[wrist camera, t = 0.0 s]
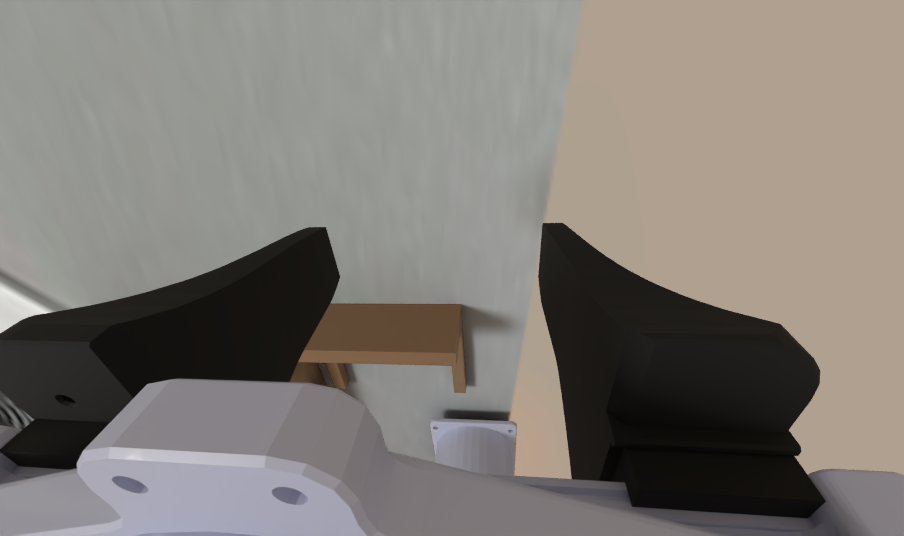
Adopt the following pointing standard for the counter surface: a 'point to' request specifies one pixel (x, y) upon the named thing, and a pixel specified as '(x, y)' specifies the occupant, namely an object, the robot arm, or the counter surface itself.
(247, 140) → the counter surface
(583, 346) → the robot arm
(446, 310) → the wooden l-shaped bracket
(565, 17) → the counter surface
